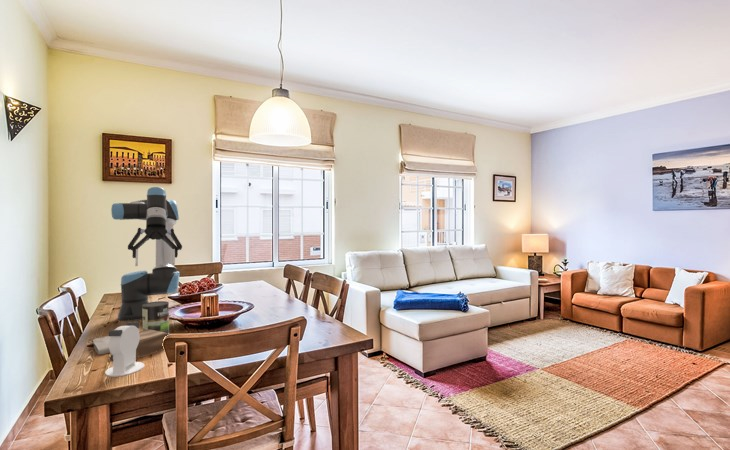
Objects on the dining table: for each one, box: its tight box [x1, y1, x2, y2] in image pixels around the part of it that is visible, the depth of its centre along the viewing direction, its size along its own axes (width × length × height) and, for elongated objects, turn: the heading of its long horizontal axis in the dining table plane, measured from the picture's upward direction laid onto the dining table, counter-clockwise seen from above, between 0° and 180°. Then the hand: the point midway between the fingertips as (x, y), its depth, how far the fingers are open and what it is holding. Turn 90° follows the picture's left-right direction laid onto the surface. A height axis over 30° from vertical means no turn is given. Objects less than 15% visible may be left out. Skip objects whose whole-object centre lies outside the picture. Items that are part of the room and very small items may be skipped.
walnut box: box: [136, 329, 169, 359], centre depth 146 cm, size 12×12×6 cm
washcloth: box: [92, 336, 111, 356], centre depth 152 cm, size 12×18×3 cm, turn 43°
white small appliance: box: [104, 321, 145, 378], centre depth 128 cm, size 12×11×15 cm
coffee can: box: [142, 300, 170, 335], centre depth 163 cm, size 10×10×14 cm
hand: (155, 264), depth 156 cm, fingers open, 13 cm apart
